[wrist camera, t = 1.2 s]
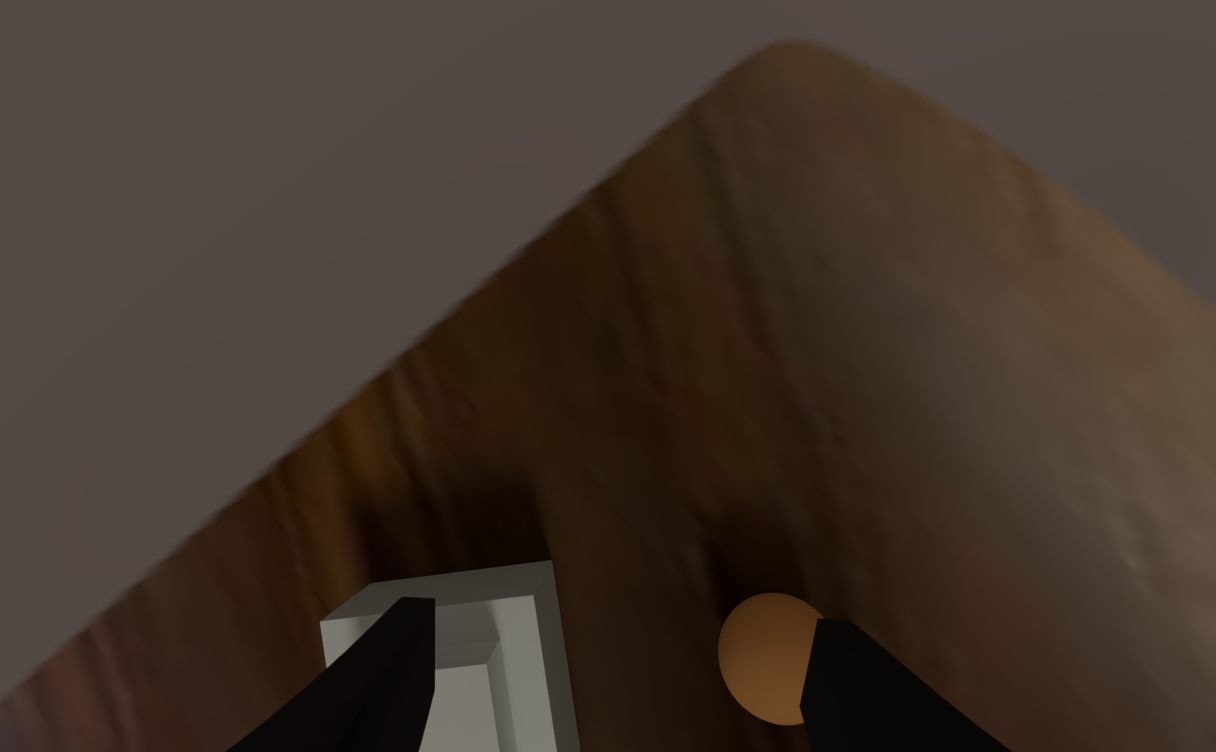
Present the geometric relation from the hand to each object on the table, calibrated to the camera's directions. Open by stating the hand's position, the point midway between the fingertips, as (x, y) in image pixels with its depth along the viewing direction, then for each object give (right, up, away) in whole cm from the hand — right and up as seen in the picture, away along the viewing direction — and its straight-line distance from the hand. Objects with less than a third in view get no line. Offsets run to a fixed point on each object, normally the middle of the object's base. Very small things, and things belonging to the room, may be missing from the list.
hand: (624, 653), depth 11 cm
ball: (+7, -7, +14) cm, 17 cm away
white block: (-7, -9, +17) cm, 20 cm away
